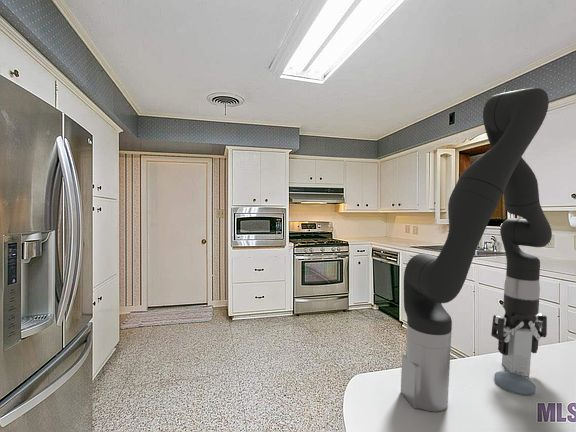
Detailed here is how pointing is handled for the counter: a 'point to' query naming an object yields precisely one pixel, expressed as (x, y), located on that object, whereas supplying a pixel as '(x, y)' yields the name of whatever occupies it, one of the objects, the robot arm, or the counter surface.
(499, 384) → the slate dish
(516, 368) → the skincare box
